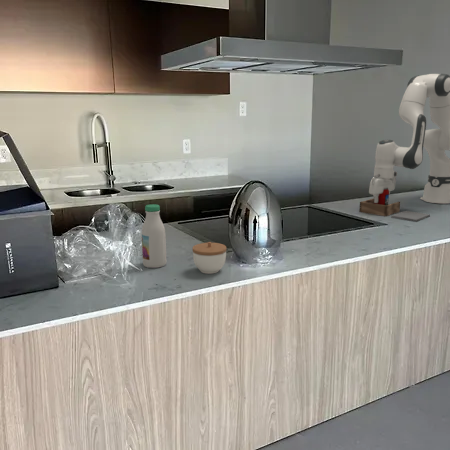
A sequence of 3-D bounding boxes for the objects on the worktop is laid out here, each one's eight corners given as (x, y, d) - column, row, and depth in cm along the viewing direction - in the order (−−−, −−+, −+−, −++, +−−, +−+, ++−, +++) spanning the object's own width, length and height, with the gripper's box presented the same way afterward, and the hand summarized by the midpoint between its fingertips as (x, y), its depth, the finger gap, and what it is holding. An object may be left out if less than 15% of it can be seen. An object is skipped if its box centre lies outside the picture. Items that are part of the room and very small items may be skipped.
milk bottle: (167, 260, 157) (165, 202, 152) (165, 268, 150) (163, 207, 145) (144, 261, 157) (141, 203, 152) (141, 268, 149) (138, 208, 145)
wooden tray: (373, 207, 240) (374, 198, 239) (399, 211, 230) (400, 201, 229) (359, 211, 230) (360, 202, 229) (385, 216, 221) (386, 206, 219)
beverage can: (389, 213, 228) (391, 188, 225) (375, 213, 228) (377, 188, 225) (385, 210, 234) (387, 186, 231) (371, 210, 234) (373, 186, 232)
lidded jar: (187, 268, 150) (186, 240, 147) (216, 263, 155) (215, 235, 153) (202, 278, 141) (202, 249, 138) (232, 272, 146) (232, 243, 144)
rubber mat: (405, 212, 228) (405, 210, 228) (429, 216, 220) (430, 214, 220) (391, 217, 218) (391, 215, 218) (416, 221, 210) (416, 219, 210)
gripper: (379, 176, 217) (376, 205, 220) (398, 172, 231) (396, 199, 234) (366, 175, 221) (364, 203, 225) (386, 171, 235) (384, 198, 239)
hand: (381, 201), depth 230 cm, fingers open, 8 cm apart
